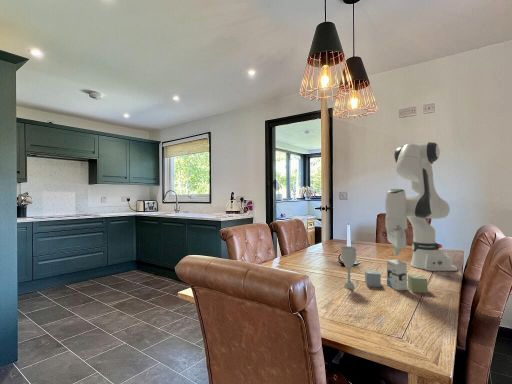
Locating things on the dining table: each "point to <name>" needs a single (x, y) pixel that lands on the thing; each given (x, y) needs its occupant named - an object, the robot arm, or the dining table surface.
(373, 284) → the slate block
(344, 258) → the chalice
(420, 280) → the olive block
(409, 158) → the robot arm
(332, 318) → the dining table surface
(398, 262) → the ink box
